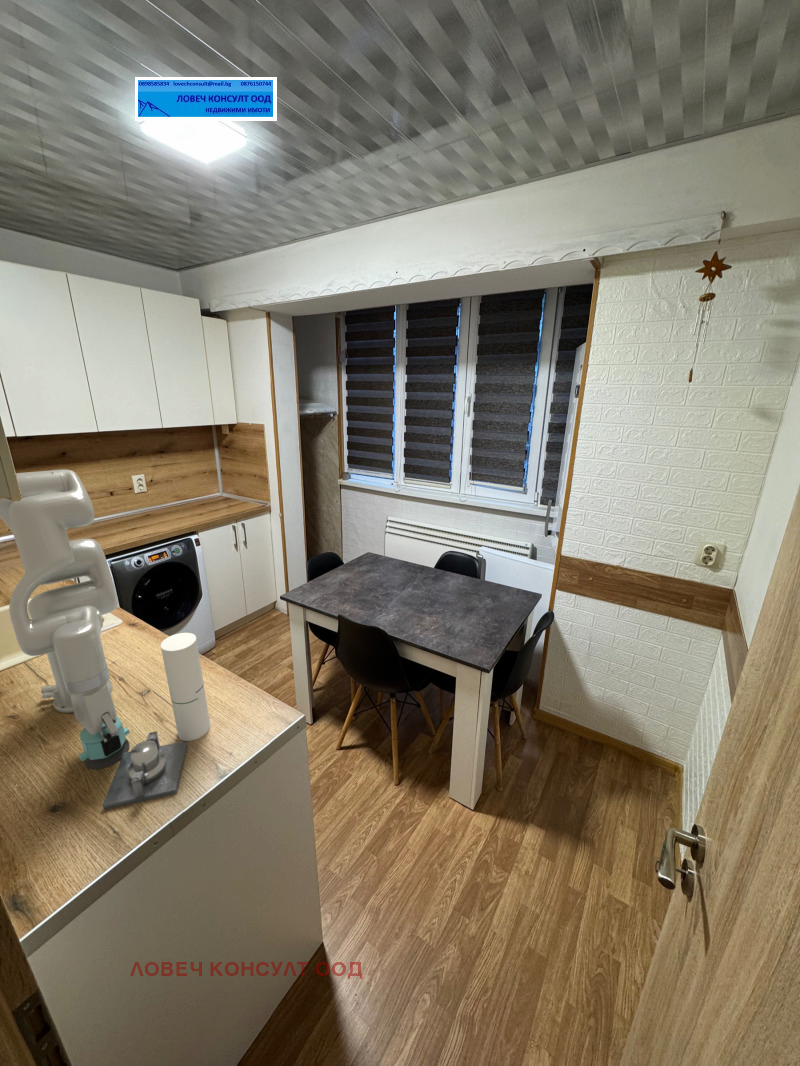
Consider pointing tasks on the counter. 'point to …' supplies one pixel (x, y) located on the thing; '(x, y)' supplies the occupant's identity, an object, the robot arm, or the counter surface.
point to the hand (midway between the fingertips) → (104, 742)
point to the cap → (99, 742)
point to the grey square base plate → (147, 772)
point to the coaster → (108, 758)
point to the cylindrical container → (186, 685)
